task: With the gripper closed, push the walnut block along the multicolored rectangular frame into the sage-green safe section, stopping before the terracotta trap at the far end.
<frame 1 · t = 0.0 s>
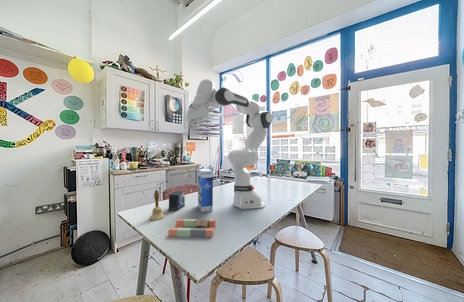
hand: (193, 127, 98), 52 cm above the table, tool tilted 20°, fingers open, 8 cm apart
string lights box: (205, 208, 115), on the table
multicolored rectangular frame: (193, 230, 84), on the table
walnut block: (201, 230, 84), on the table
small box: (177, 208, 116), on the table
hand bell: (157, 217, 100), on the table
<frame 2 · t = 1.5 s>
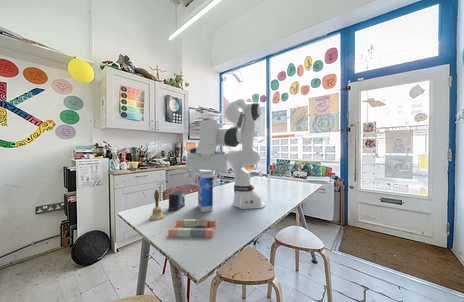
hand: (205, 179, 84), 25 cm above the table, tool pointing down, fingers open, 8 cm apart
nothing on the table moved.
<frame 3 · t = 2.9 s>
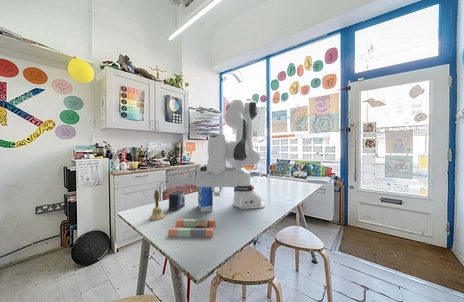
hand: (216, 195, 83), 17 cm above the table, tool pointing down, fingers closed
nothing on the table moved.
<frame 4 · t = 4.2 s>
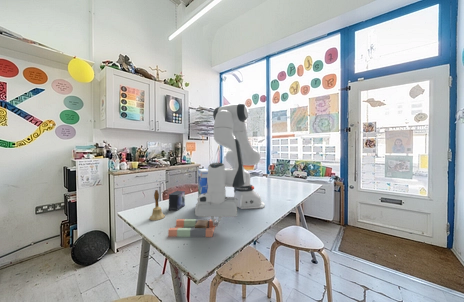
hand: (216, 225, 83), 3 cm above the table, tool pointing down, fingers closed
nothing on the table moved.
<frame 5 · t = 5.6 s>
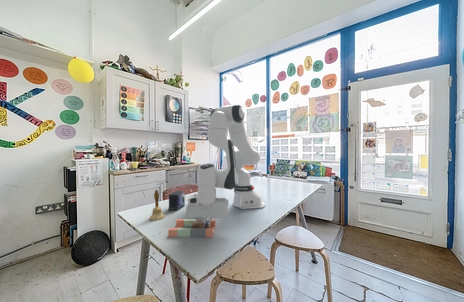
hand: (207, 226, 84), 2 cm above the table, tool pointing down, fingers closed
walnut block: (199, 230, 84), on the table, touching gripper
everything else where it was.
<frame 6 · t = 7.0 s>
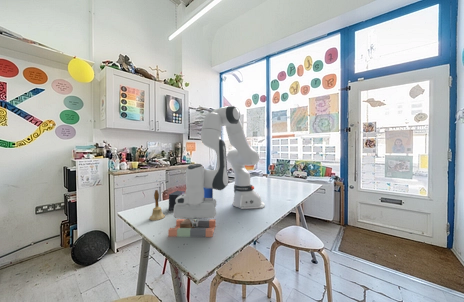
hand: (195, 226, 84), 2 cm above the table, tool pointing down, fingers closed
walnut block: (187, 229, 85), on the table, touching multicolored rectangular frame, gripper
everything else where it was.
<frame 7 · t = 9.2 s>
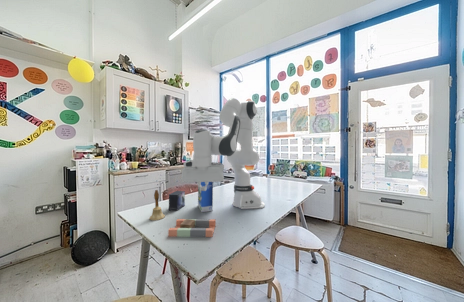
hand: (203, 190, 85), 19 cm above the table, tool pointing down, fingers closed
walnut block: (187, 230, 85), on the table
everything else where it was.
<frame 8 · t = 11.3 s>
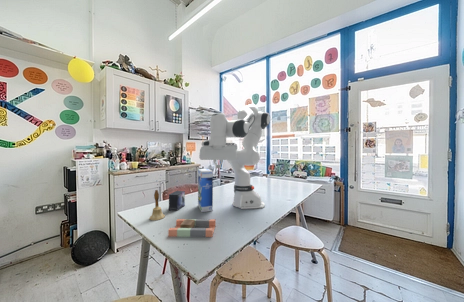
hand: (218, 168, 94), 29 cm above the table, tool pointing down, fingers closed
nothing on the table moved.
at the end: walnut block 0.6 cm from the target spot, on the table; walnut block tilted 0°; the gripper is holding nothing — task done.
